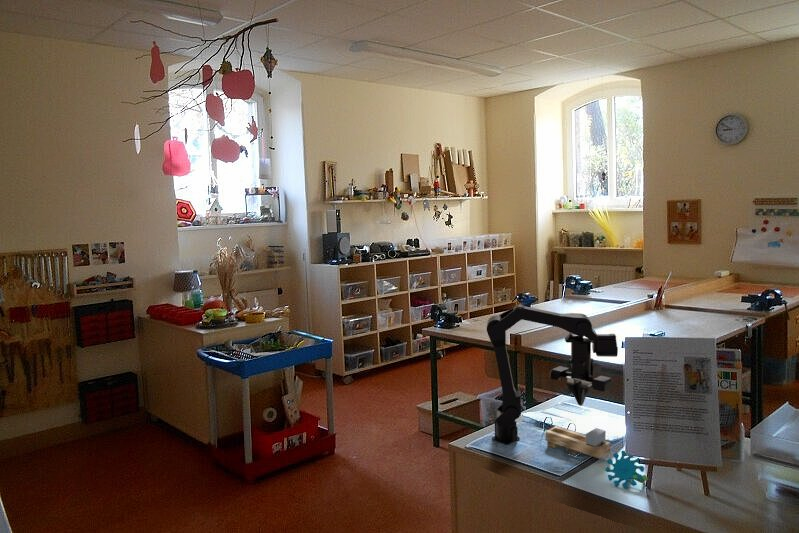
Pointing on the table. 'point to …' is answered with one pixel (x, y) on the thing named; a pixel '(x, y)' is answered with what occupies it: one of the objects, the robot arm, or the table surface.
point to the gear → (625, 470)
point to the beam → (574, 442)
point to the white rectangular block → (595, 437)
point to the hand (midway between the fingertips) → (580, 405)
